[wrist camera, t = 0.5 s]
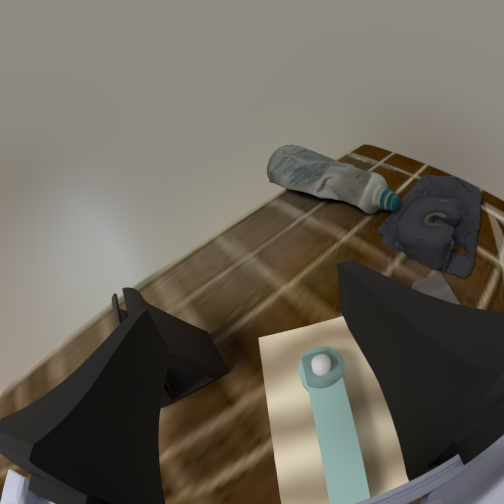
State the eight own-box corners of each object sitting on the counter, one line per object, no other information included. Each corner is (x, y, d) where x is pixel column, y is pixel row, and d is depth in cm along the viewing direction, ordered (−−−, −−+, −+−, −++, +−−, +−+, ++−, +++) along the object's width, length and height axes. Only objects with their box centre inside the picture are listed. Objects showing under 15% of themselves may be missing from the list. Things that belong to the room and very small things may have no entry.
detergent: (259, 188, 51) (365, 247, 33) (252, 154, 47) (368, 199, 29) (309, 166, 55) (412, 208, 38) (305, 135, 51) (416, 168, 33)
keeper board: (504, 442, 11) (534, 430, 7) (287, 529, 13) (275, 545, 9) (438, 287, 26) (450, 255, 23) (260, 341, 29) (247, 315, 25)
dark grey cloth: (489, 204, 33) (495, 181, 30) (463, 290, 25) (475, 264, 22) (419, 176, 43) (421, 154, 40) (367, 242, 35) (368, 215, 32)
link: (297, 362, 24) (293, 348, 22) (337, 351, 24) (338, 336, 22) (325, 513, 13) (324, 521, 11) (373, 500, 13) (380, 506, 10)
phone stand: (208, 333, 31) (159, 266, 23) (230, 372, 27) (177, 312, 19) (147, 367, 29) (82, 312, 21) (161, 408, 25) (86, 363, 17)
